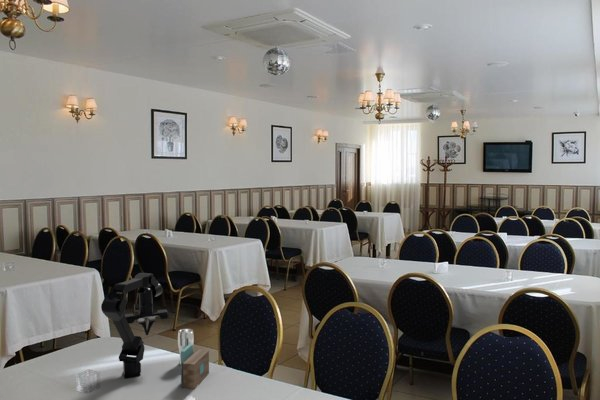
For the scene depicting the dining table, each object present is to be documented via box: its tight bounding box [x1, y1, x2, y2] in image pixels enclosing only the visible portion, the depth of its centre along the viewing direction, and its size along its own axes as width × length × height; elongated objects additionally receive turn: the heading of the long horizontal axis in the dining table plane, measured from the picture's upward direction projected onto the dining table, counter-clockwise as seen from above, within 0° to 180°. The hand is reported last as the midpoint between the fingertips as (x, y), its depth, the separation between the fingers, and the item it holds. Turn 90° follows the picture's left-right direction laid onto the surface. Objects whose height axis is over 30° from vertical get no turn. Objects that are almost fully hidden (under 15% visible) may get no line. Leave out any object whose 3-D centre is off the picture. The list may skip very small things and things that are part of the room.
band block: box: [180, 349, 210, 389], centre depth 215 cm, size 6×16×10 cm, turn 169°
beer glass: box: [177, 328, 195, 366], centre depth 233 cm, size 7×7×15 cm
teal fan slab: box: [180, 343, 204, 384], centre depth 215 cm, size 7×9×13 cm
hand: (146, 335), depth 233 cm, fingers closed
